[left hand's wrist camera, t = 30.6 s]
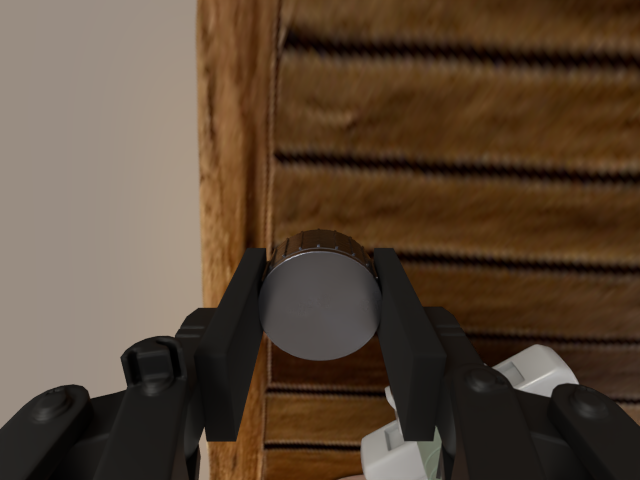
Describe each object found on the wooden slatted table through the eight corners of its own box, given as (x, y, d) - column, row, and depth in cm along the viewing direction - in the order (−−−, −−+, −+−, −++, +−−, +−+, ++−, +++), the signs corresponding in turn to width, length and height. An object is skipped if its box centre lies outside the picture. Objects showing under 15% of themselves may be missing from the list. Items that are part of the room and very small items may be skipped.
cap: (268, 221, 14) (258, 243, 12) (384, 234, 14) (396, 257, 12) (261, 321, 15) (251, 355, 13) (366, 331, 16) (373, 367, 14)
